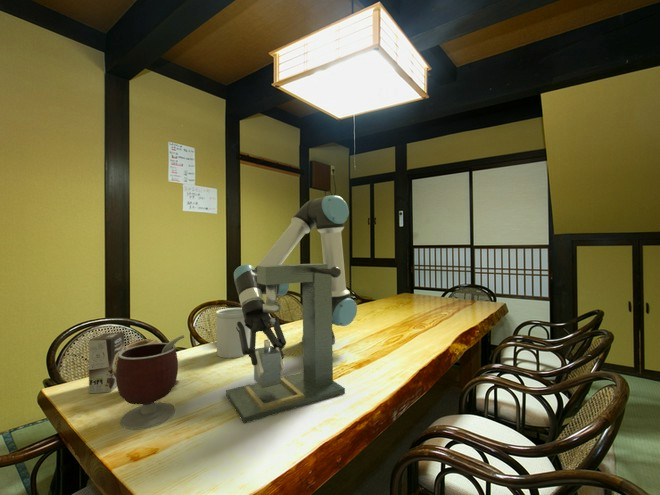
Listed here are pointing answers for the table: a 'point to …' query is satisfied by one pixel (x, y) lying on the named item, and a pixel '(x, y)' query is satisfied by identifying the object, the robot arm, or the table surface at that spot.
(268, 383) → the block
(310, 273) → the press
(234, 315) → the utensil holder
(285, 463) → the table surface
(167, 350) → the mate gourd
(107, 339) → the coffee box
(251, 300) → the robot arm
